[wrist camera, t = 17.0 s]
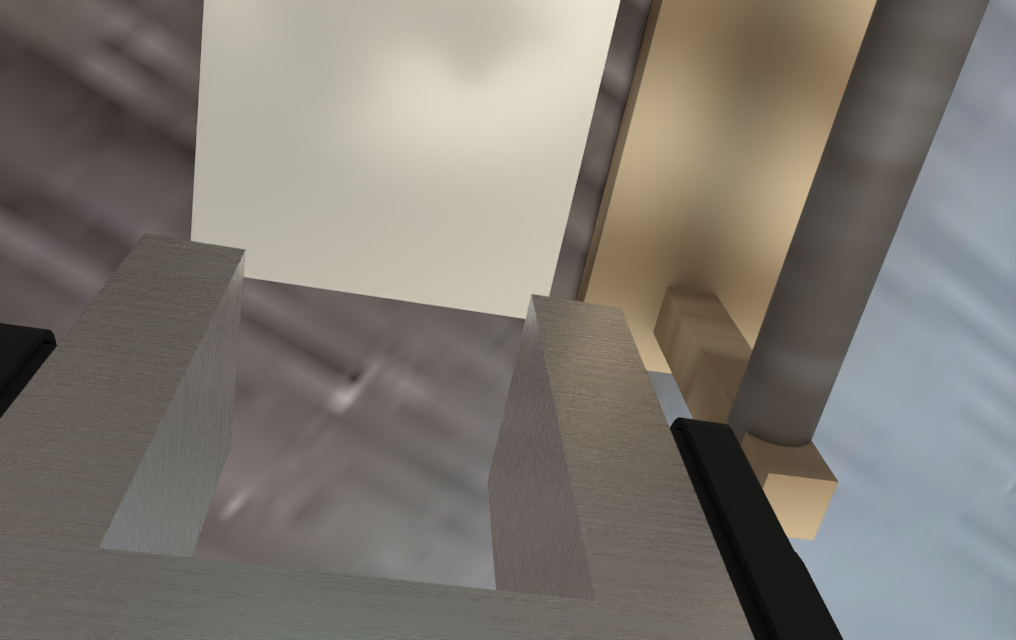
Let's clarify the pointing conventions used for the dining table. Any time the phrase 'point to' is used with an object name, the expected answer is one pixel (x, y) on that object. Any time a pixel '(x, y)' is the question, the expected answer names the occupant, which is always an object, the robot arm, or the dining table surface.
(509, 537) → the notched grey block
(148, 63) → the dining table surface
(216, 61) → the square tile
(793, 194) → the rail stand
